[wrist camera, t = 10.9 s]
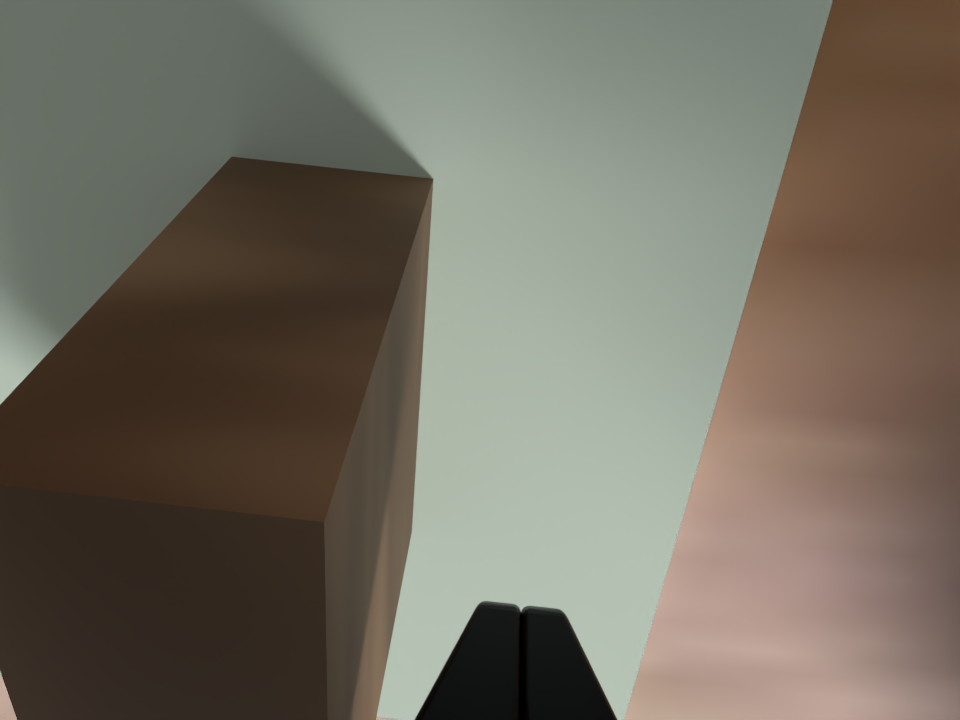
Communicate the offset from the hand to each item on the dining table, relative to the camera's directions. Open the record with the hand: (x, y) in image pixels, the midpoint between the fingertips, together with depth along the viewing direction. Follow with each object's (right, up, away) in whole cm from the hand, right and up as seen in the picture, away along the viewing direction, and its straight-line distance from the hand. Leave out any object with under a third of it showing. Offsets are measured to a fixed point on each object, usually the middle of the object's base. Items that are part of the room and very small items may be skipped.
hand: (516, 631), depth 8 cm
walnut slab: (-2, +3, +4) cm, 5 cm away
